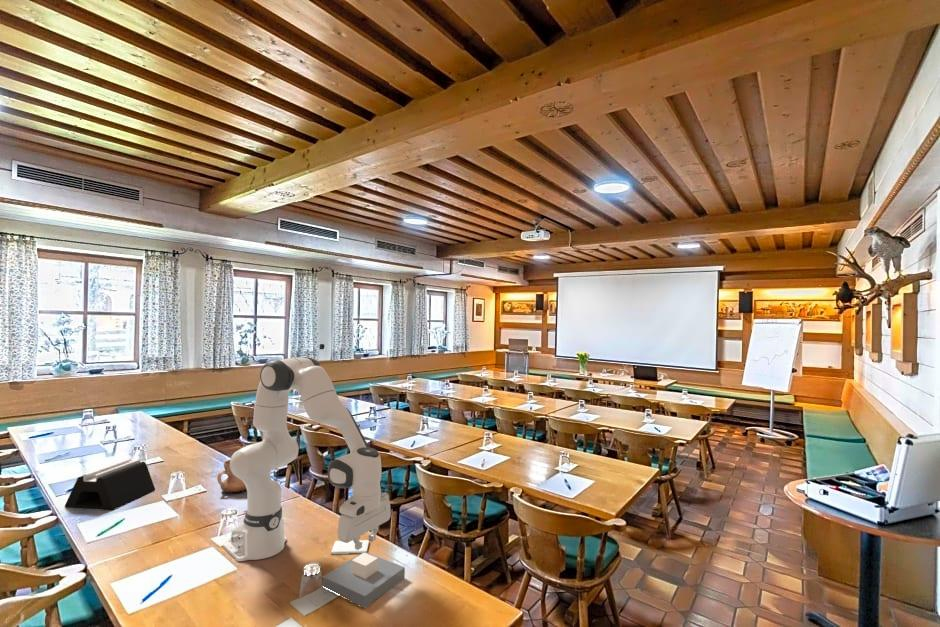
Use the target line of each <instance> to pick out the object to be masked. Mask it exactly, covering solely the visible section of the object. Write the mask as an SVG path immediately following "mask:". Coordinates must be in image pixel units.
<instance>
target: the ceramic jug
mask: <svg viewBox="0 0 940 627" xmlns="http://www.w3.org/2000/svg"><path fill="white" fill-rule="evenodd" d="M230 460H231V458H230V459H228V460H225V461H223V468H224V469H223V470H220V471H219V472H218V474H217V477H216V478H217V482H218V484H219V486H220V489H221V491H223V492H225V493H230V492H231V494H233V493H232V492H236V493H240V491H242V492H245V491H247V489H246V486H245V484H244V482H243V481H242V480H241V479H239V478H237V477H236V476H234V474H233V473H232V472H231V469H230ZM224 474H225V475H226V476H227V477H226V478H225V479H224V480H223V481H222V475H224ZM244 490H245V491H244Z"/></svg>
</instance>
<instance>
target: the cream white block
mask: <svg viewBox="0 0 940 627" xmlns="http://www.w3.org/2000/svg"><path fill="white" fill-rule="evenodd" d="M369 554H370V553H369ZM369 554H366V553H363V554H361V555H359V554H358V555H359V556H358V555H357V556H358V557H356V556H355V557H356V558H354V557H353V558H354V559H353V558H352V559H353V560H352V566H351V573H352V574H355V575H357V576H359V577H362V578H364V579H366V578H368V577H369V576H370V575H372V574H373V573H375V572H376V571H378V558H377V557H378V556H377V557H374V556H372V555H373V554H372V555H369Z"/></svg>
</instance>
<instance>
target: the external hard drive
mask: <svg viewBox="0 0 940 627" xmlns="http://www.w3.org/2000/svg"><path fill="white" fill-rule="evenodd" d="M359 541H360V542H362V548H361V549H359V550H357V549H355V543H354V541H353V540H352V541H350V542H348V543H345V542H343V541H340V540H335V541H334V544H333V545H332V548H331V551H330V555H331V554H341V555H350V554H349V553H363V552H367V553H368V549H369V548H368V547H369V544H370V541H369V539H364V540H363V539H362V540H361V539H359Z"/></svg>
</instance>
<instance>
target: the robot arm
mask: <svg viewBox="0 0 940 627" xmlns="http://www.w3.org/2000/svg"><path fill="white" fill-rule="evenodd" d="M259 373H260V374H259V378H260V381H259V382H258V383H259V384H258V386H257V390H256V394H255V401H254V410H253V419H252V424H253V427H254V428H255V429H256V430H257V431H259V432H262V436H263V437H262V438H263V439H262V440H261V441H260V442H256V443H252V444H248V445H245V446H244V447H240V449H238V450H237V451H235V452H233V454H232V455H231V457H230V459H231V460H230V459H229V460H230V469H231V472H232V473H233V474H234V476H236V477H237V478H239V479H241V480H242V481H243V482H244V484H245V486H246V489H247V490H246V494H247V496H246V498H247V502H246V504H247V505H246V506H247V509H246V510H245V511H244V510H243V513H242V515H243V516H244V518H243V521H241V522H240V523H239V524H238V525H236V526H235V527H234V528H233V529H232V531H231V535H230V539H229V540H227V541H226V542H224V543H223V547H222V548H223V549H224V550H225V551H226V552H227V553H229V555H230V556H231V557H232V558H233V559H234V560H236V561H237V562H246V561H257V560H263V559H267V558H271V557H273V556H275V555H278V554H279V553H280V552H282V551H283V550H284V549H285V542H286V541H287V540H286V539H287V538H288V537H287V536H286V535H285V523H284V518H283V507H282V487H281V485H280V484H279V482H277V481H276V480H272V478H271V472H272V471H274V470H277V469H280V468H282V467H285V466H287V465H288V464H289V463H291V462H293V461H295V459H297V457H298V455H299V449H300V447H299V444H298V441H297V440H296V439H295V438H294V437H292V436H291V435H290V432H289V429H288V423H287V421H288V408H289V396H290V393H291V391H292V390H297V391H298V393H299V394H300V397H301V401H302V403H303V407H304V411H305V412H306V414H307V416H308V417H309V419H310V420H311V421H313V422H315V423H316V424H320V425H326V426H331V427H333V428H334V429H335V428H336V429H337V430H338V431H339V432H340V433H341V435H342V437H343V438H344V441H345V443H346V446H348V449H349V451H350V453H348V454H343V455H341V456H340V457H337V458H334V459H332V461H330V462H329V465H328V467H327V477H328V481H329V483H330V484H331V485H332V486H333V487H335V488H337V489H352V495H350V497H349V498H347V500H346V501H345V502H344V503H342V504H341V505H340V506H339V511H338V512H339V513H340V514H341V515H340V516H339V518H338V525H337V538H338V541H343V542H345V543H348V542H350V541H354V543H355V549H357V550H359V549H361V548H362V542H360V541H359V540H361V536H362V535H364V534H366V533H369V531H370V534H368V540H369V542H371V543H372V542H374V541H376V538H377V533H378V531H379V527H380V525H383V524H384V523H386V522H388V521H389V520H390V518H391V516H392V515H391V514H392V513H391V502H390V495H389V493H388V492H385V491H384V492H382V488H381V479H382V459H381V455H380V452H379V451H378V450H377V449H375V448H372V447H370V446H369V444H368V442H367V441H366V439H365V437H364V435H363V433H362V431H361V428H360V426H359V424H358V423H357V421H356V420H355V417H354V416H353V414H352V412H351V411H350V410H349V408H347V407H346V406H345V405H344V403H343V402H342V401H341V399H340V398H339V396H338V394H337V391H336V388H335V387H334V384H333V382H332V379H331V377H330V376H329V374H328V373H327V371H326V369H325V368H324V367H323V366H321V364H320V362H319V361H318V360H317V359H315V358H312V357H308V356H307V357H306V356H304V357H300V356H299V357H298V356H297V357H294V356H293V357H289V358H283V359H274V360H271V361H268V362H266V363H264V365H263V366H262V368H261V369H260V372H259Z"/></svg>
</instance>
